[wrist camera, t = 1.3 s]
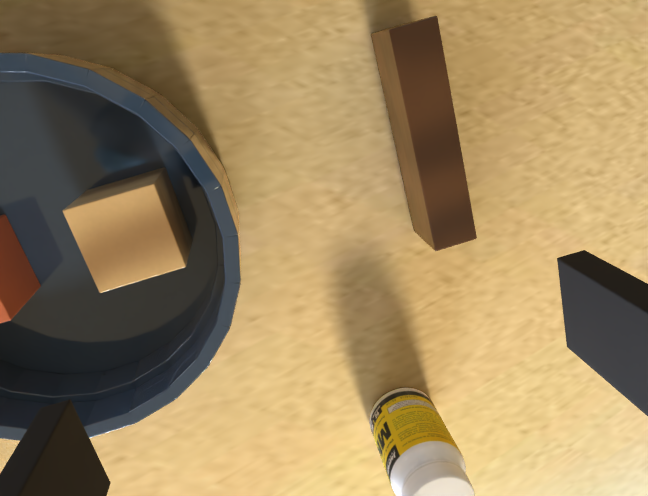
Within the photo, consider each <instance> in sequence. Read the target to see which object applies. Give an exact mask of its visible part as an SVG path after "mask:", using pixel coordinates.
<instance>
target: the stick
mask: <svg viewBox="0 0 648 496" xmlns="http://www.w3.org/2000/svg"><path fill="white" fill-rule="evenodd" d="M371 37H372V42H373V46H374V51H375V55H376V60H377V64H378V69H379V73H380V78H381V82H382V87H383V92H384V96H385V101H386V105H387V110H388V114H389V119H390V123H391V128H392V132H393V137H394V141H395V146H396V151H397V155H398V160H399V164H400V169H401V173H402V178H403V182H404V187H405V191H406V196H407V200H408V205H409V209H410V214H411V219H412V223H413V228H414V231H415V232H416V233H417V234H418V235H419V236H420V237H421V238H422V239H423V240H424V241H425V242H426V243H427V244H429V245H430V246H431V247H432V248H433V249H434V250H435V251H438V250H441V249H445V248H448V247H451V246H454V245H458V244H461V243H464V242H467V241H470V240H474V239H476V238H477V237H476V231H475V226H474V220H473V214H472V209H471V203H470V198H469V192H468V186H467V181H466V175H465V170H464V164H463V158H462V153H461V147H460V142H459V136H458V130H457V125H456V119H455V114H454V108H453V102H452V97H451V91H450V86H449V80H448V74H447V69H446V63H445V58H444V52H443V46H442V41H441V35H440V30H439V24H438V18H437V16H433V17H429V18H425V19H421V20H417V21H413V22H409V23H406V24H402V25H399V26H395V27H392V28H388V29H385V30H381V31H378V32H374V33H372V34H371Z"/></svg>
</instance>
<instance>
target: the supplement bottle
mask: <svg viewBox="0 0 648 496" xmlns="http://www.w3.org/2000/svg"><path fill="white" fill-rule="evenodd" d="M370 427H371V431H372V434H373V436H374V439H375V442H376V445H377V448H378V450H379V453H380V456H381V459H382V462H383V464H384V467H385V470H386V473H387V476H388V478H389V481H390V484H391V486H392V489H393V491H394V493H395V494H396V496H475V493H474V489H473V487H472V485H471V483H470V481H469V479H468V477H467V475H466V466H465V462H464V459H463V456H462V454H461V452H460V450H459V449H458V447H457V445H456V444H455V442H454V440H453V438H452V437H451V435H450V433H449V431H448V430H447V428H446V426H445V424H444V422H443V421H442V419H441V417H440V415H439V413H438V412H437V410H436V408H435V406H434V404H433V403H432V401H431V400H430V398H429V397H428V396H427V395H426V394H425V393H423V392H422V391H420V390H417V389H414V388H399V389H395V390H393V391H390V392H388V393H386V394H385V395H383V396H382V397H381V398H380V399H379V400H378V401H377V402H376V403H375V405H374V406H373V408H372V411H371V414H370Z"/></svg>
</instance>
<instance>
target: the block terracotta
mask: <svg viewBox="0 0 648 496" xmlns="http://www.w3.org/2000/svg"><path fill="white" fill-rule="evenodd" d="M40 287H41V285H40V283H39V281H38V279H37V277H36V275H35V273H34V271H33V269H32V267H31V265H30V263H29V261H28V259H27V257H26V255H25V253H24V251H23V249H22V247H21V245H20V243H19V241H18V239H17V237H16V235H15V233H14V231H13V229H12V227H11V225H10V222H9V220H8V218H7V216H6V215H1V216H0V323H3V322H6V321H10V320H11V319H12V318H13V317H14V316H15V315H16V314H17V312H18V311H19V310H20V309H21V308H22V307H23V306H24V305H25V303H26V302H27V301H28V300H29V299H30V298H31V297H32V296H33V294H34V293H35V292H36V291H37V290H38V289H39V288H40Z"/></svg>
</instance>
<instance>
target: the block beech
mask: <svg viewBox="0 0 648 496" xmlns="http://www.w3.org/2000/svg"><path fill="white" fill-rule="evenodd" d="M63 213H64V216H65V218H66V220H67V222H68V224H69V227H70V229H71V231H72V233H73V235H74V238H75V240H76V242H77V244H78V246H79V249H80V251H81V253H82V255H83V257H84V260H85V262H86V264H87V266H88V268H89V271H90V273H91V275H92V277H93V279H94V282H95V284H96V286H97V288H98V290H99V292H100V293H102V292H105V291H109V290H112V289H115V288H118V287H122V286H125V285H128V284H132V283H135V282H138V281H141V280H145V279H148V278H151V277H155V276H158V275H161V274H165V273H168V272H171V271H174V270H178V269H181V268H184V267H186V264H187V260H188V256H189V252H190V249H191V245H192V241H193V240H192V237H191V234H190V232H189V229H188V226H187V223H186V221H185V218H184V215H183V213H182V210H181V207H180V205H179V202H178V199H177V197H176V194H175V191H174V189H173V186H172V183H171V181H170V178H169V175H168V173H167V170H166V168H161V169H157V170H154V171H150V172H147V173H144V174H140V175H137V176H133V177H130V178H127V179H123V180H120V181H116V182H113V183H110V184H106V185H103V186H99V187H96V188H93V189H89V190H87V191H86V192H84V193H83V194H82V195H81V196H80V197H78V198H77V199H76V200H75V201H74V202H72V203H71V204H70V205H69V206H68V207H66V208H65V209H64V210H63Z"/></svg>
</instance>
